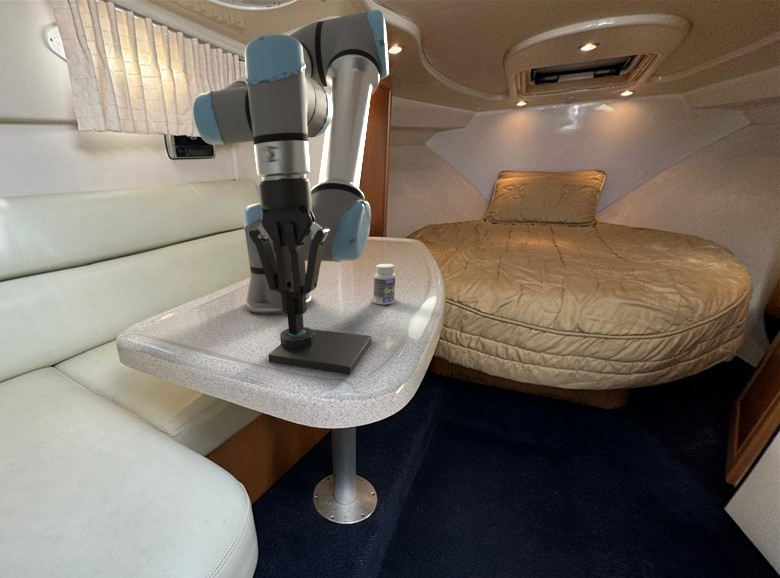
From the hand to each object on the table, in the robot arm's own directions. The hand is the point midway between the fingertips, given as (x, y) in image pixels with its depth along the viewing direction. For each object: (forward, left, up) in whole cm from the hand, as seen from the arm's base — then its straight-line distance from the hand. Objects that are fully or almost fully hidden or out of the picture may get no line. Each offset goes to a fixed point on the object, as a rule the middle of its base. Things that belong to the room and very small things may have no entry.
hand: (296, 330), depth 62 cm
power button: (0, 0, -2) cm, 2 cm away
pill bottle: (-15, +26, -4) cm, 30 cm away
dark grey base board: (+3, +3, -4) cm, 6 cm away
